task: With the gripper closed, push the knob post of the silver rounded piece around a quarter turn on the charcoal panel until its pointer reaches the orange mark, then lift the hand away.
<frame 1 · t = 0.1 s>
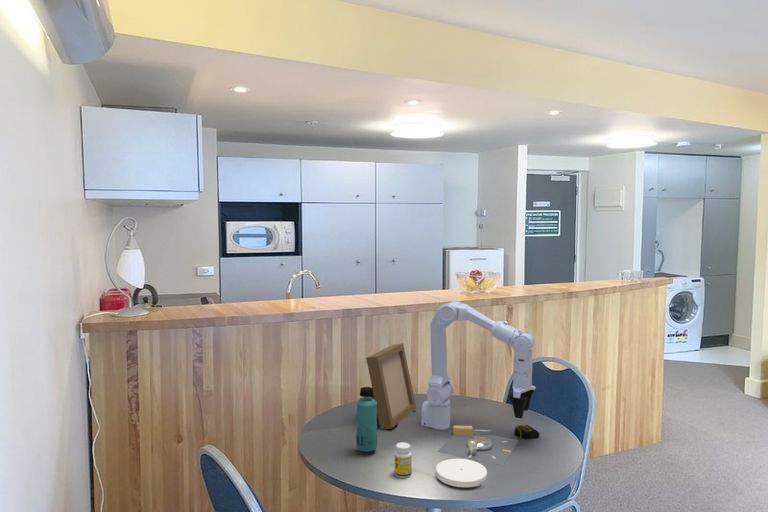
hand: (521, 413, 170), 10 cm above the table, fingers open, 7 cm apart
supplement bottle: (402, 475, 150), on the table
plastic lid: (461, 479, 149), on the table
silver rounded piece: (477, 441, 165), point 3 cm above the table, hinge at 0.0°
tape measure: (526, 439, 176), on the table
screwdriver: (467, 434, 176), point 1 cm above the table, touching panel
panel: (479, 449, 167), on the table
beverage bottle: (366, 452, 164), on the table
photo frame: (385, 417, 194), on the table
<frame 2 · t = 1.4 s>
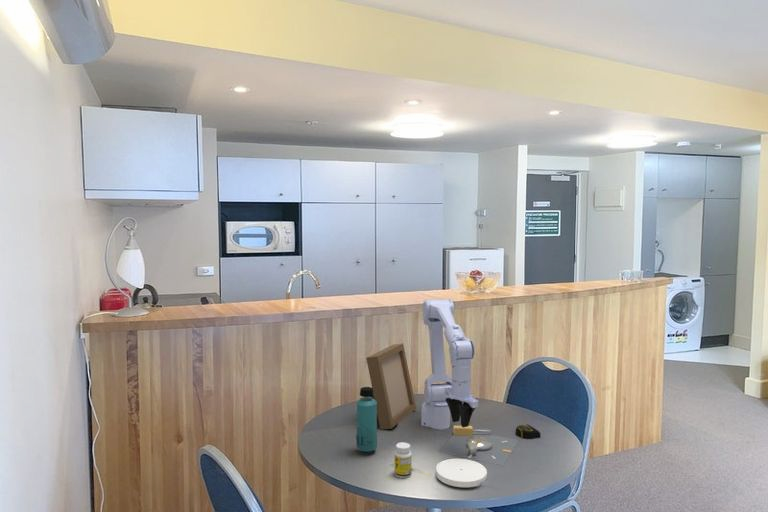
hand: (460, 423, 163), 9 cm above the table, fingers open, 4 cm apart
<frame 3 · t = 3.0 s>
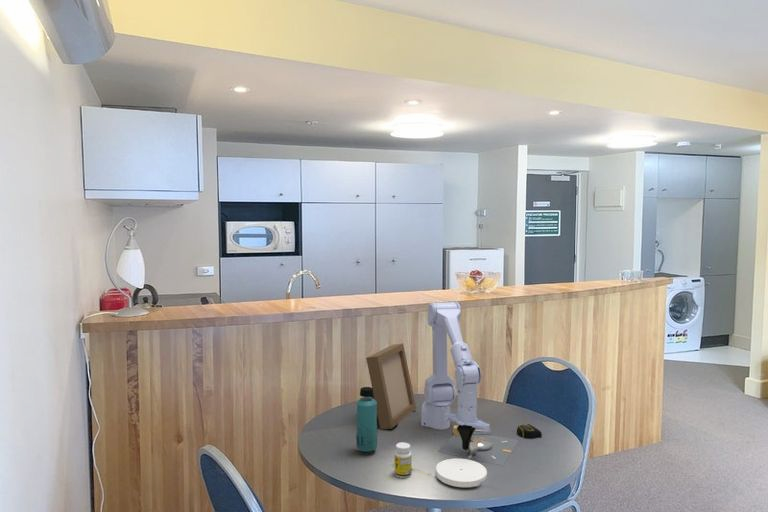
hand: (466, 448, 161), 2 cm above the table, fingers closed, pressing on silver rounded piece
silver rounded piece: (477, 441, 165), point 3 cm above the table, hinge at 0.3°, touching gripper
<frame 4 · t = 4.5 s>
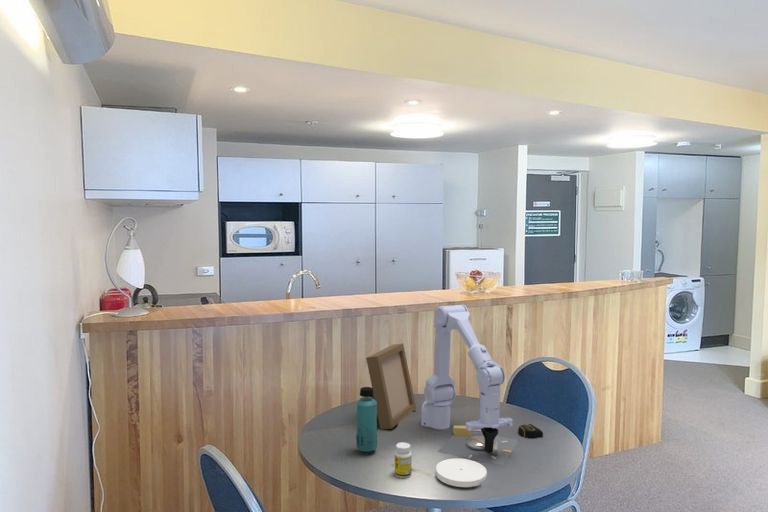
hand: (488, 451, 160), 2 cm above the table, fingers closed, pressing on silver rounded piece
silver rounded piece: (483, 441, 165), point 3 cm above the table, hinge at 54.0°, touching gripper
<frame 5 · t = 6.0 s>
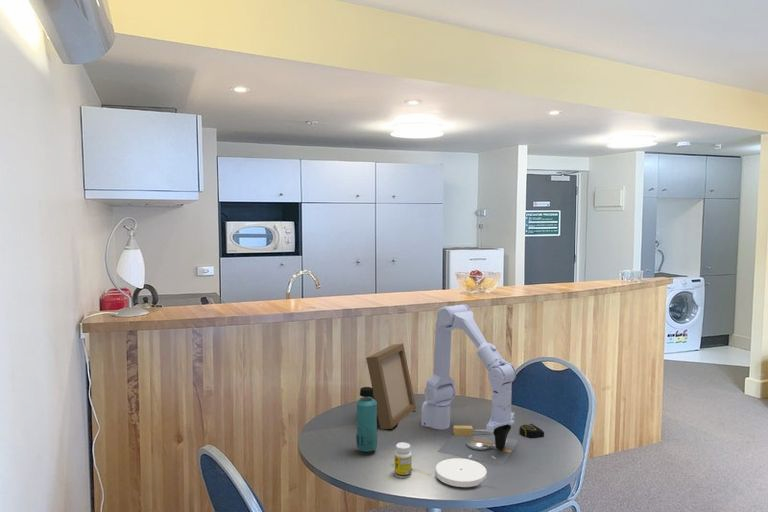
hand: (500, 448, 162), 2 cm above the table, fingers closed
silver rounded piece: (485, 439, 166), point 3 cm above the table, hinge at 93.9°, touching gripper
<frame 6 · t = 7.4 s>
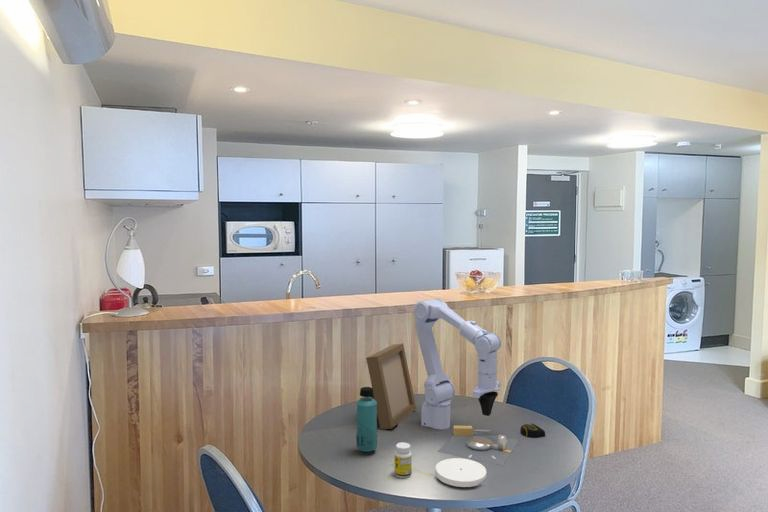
hand: (486, 414, 169), 10 cm above the table, fingers closed
silver rounded piece: (486, 439, 166), point 3 cm above the table, hinge at 94.4°
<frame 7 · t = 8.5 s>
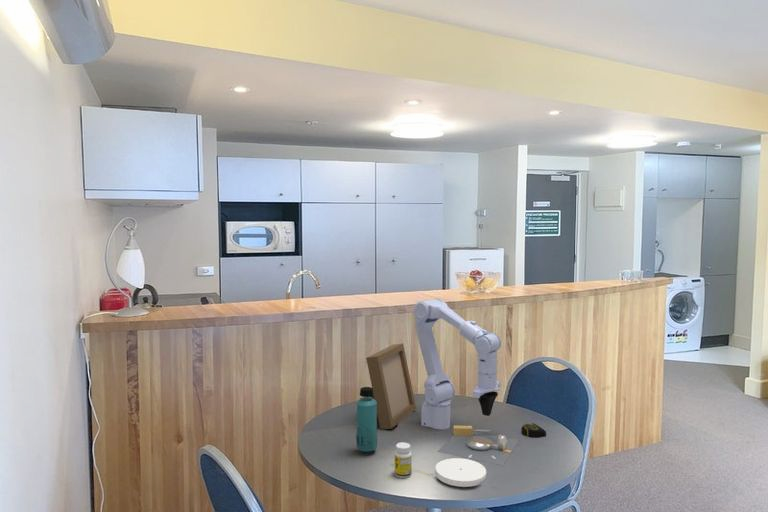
hand: (486, 414, 169), 10 cm above the table, fingers closed
at the end: silver rounded piece at +94° (first picture: +0°) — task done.
